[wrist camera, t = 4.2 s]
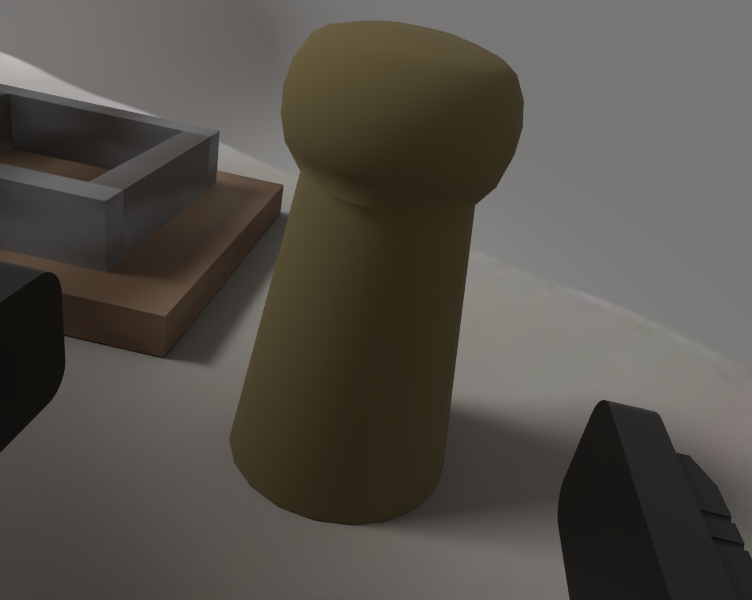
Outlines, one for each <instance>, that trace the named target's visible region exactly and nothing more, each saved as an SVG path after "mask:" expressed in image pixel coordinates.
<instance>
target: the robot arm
mask: <svg viewBox="0 0 752 600" xmlns="http://www.w3.org/2000/svg"><path fill="white" fill-rule="evenodd" d="M64 370H65V346H64V326H63V307H62V289H61V284H60V281H59V279H58V277H57V276H56V275H55V274H54V273H51V272H48V271H43V270H39V269H35V268H30V267H26V266H21V265H17V264H13V263H8V262H4V261H0V452H1V451H2V450H3V449H4V448H5V447H6V446H7V445H8V444H9V443H10V442H11V441H12V440H13V439H14V438H15V437H16V436H17V435H18V434H19V433H20V432H21V431H22V430H23V429H24V428H25V427H26V426H27V425H28V424H29V423H30V422H31V421H32V420H33V419H34V418H35V417H36V416H37V415H38V414H39V413H40V412H41V411H42V410H43V409H44V408H45V407H46V405H47V404H48V403H49V402H50V401H51V400H52V399H53V397H54V396H55V394H56V392H57V391H58V388H59V386H60V384H61V381H62V378H63V374H64ZM731 518H732V517H731V514H730V512H729V510H728V508H727V506H726V504H725V502H724V500H723V498H722V495H721V493H720V491H719V489H718V487H717V485H716V484H715V483H714V482H713V481H712V480H711V479H710V478H709V477H708V476H707V474H706V473H705V472H704V471H703V470H702V469H701V468H700V467H699V466H698V465H697V464H696V463H695V461H694V460H693V459H692V458H691V457H690V456H688V455H683V454H679V453H676V452H675V450H674V447H673V445H672V443H671V440H670V438H669V436H668V433H667V431H666V428H665V426H664V424H663V421H662V419H661V417H660V415H659V414H658V413H657V412H654V411H650V410H646V409H641V408H637V407H633V406H628V405H624V404H619V403H615V402H611V401H606V400H602V401H600V402H599V403H598V404H597V405H596V406H595V408H594V410H593V412H592V414H591V416H590V419H589V421H588V423H587V426H586V428H585V431H584V433H583V435H582V438H581V440H580V442H579V445H578V447H577V449H576V452H575V454H574V457H573V459H572V461H571V464H570V466H569V468H568V471H567V473H566V475H565V478H564V481H563V484H562V487H561V491H560V496H559V502H558V527H559V533H560V540H561V546H562V553H563V559H564V566H565V572H566V579H567V585H568V592H569V598H570V600H752V559H751V557H750V554H749V552H748V551H745V550H744V542H743V540H742V538H741V535H740V533H739V531H738V529H737V527H736V525H735V524H734V523H731Z"/></svg>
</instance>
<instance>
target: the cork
mask: <svg viewBox="0 0 752 600" xmlns="http://www.w3.org/2000/svg"><path fill="white" fill-rule="evenodd" d="M523 105H524V99H523V96H522V92H521V88H520V85H519V81H518V77H517V74H516V73H515V72H514V71H513V70H512V69H511V68H510V66H509V65H508V64H507V63H506V62H505V61H504V60H503V59H501V58H500V57H498V56H497V55H495V54H493V53H491V52H489V51H487V50H485V49H484V48H482V47H480V46H478V45H476V44H474V43H472V42H469V41H467V40H464V39H462V38H460V37H457V36H455V35H452V34H450V33H446V32H443V31H439V30H435V29H430V28H426V27H421V26H416V25H411V24H405V23H399V22H392V21H355V22H345V23H335V24H328V25H326V26H324V27H321V28H319V29H317V30H315V31H313V32H312V33H311V34H310V35H309V37H308V38H307V40H306V41H305V42H304V43H303V45H302V46H301V47H300V49H299V50H298V52H297V53H296V54H295V56H294V57H293V59H292V62H291V65H290V68H289V70H288V73H287V76H286V79H285V82H284V85H283V97H282V107H281V116H282V123H283V131H284V138H285V142H286V144H287V146H288V148H289V150H290V152H291V154H292V156H293V158H294V160H295V162H296V163H297V165H298V167H299V169H300V175H299V179H298V183H297V186H296V190H295V194H294V198H293V201H292V205H291V209H290V213H289V216H288V220H287V224H286V228H285V231H284V235H283V239H282V243H281V247H280V250H279V254H278V258H277V262H276V265H275V269H274V273H273V277H272V280H271V284H270V288H269V292H268V295H267V299H266V303H265V307H264V311H263V314H262V318H261V322H260V326H259V329H258V333H257V337H256V341H255V344H254V348H253V352H252V356H251V359H250V363H249V367H248V371H247V374H246V378H245V382H244V386H243V390H242V393H241V397H240V401H239V405H238V408H237V412H236V416H235V420H234V423H233V427H232V431H231V435H230V438H229V439H230V444H231V448H232V453H233V458H234V463H235V464H236V466H237V467H238V468H239V470H240V471H241V473H242V474H243V476H244V477H245V478H246V480H247V481H248V483H249V484H250V485H251V487H253V488H254V489H255V490H257V491H258V492H260V493H261V494H262V495H264V496H265V497H266V498H268V499H269V500H271V501H272V502H273V503H275V504H276V505H277V506H279V507H281V508H284V509H287V510H289V511H292V512H295V513H297V514H300V515H303V516H305V517H308V518H311V519H313V520H319V521H327V522H336V523H344V524H352V525H354V524H361V523H368V522H376V521H383V520H389V519H392V518H394V517H396V516H398V515H400V514H403V513H405V512H407V511H409V510H411V509H414V508H416V507H418V506H419V505H420V504H421V503H422V502H423V501H424V499H425V498H426V497H427V496H428V495H429V494H430V493H431V492H432V491H433V490H434V489H435V488H436V486H437V482H438V479H439V476H440V473H441V470H442V467H443V461H444V453H445V445H446V437H447V429H448V420H449V412H450V404H451V396H452V388H453V380H454V372H455V364H456V356H457V348H458V340H459V331H460V323H461V315H462V307H463V299H464V291H465V283H466V275H467V267H468V259H469V250H470V242H471V234H472V226H473V218H474V210H475V205H476V204H477V203H478V202H479V201H481V200H482V199H483V198H484V197H485V196H486V195H487V194H489V193H490V192H491V191H492V190H493V189H495V188H496V187H497V185H498V183H499V181H500V180H501V178H502V176H503V174H504V172H505V171H506V169H507V167H508V165H509V164H510V162H511V160H512V158H513V156H514V154H515V151H516V148H517V144H518V141H519V138H520V134H521V131H522V127H523Z"/></svg>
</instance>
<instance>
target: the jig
mask: <svg viewBox="0 0 752 600" xmlns="http://www.w3.org/2000/svg"><path fill="white" fill-rule="evenodd" d="M218 146H219V131H218V130H213V129H208V128H204V127H199V126H194V125H190V124H185V123H180V122H175V121H171V120H166V119H162V118H157V117H152V116H148V115H143V114H138V113H134V112H129V111H124V110H120V109H115V108H110V107H106V106H101V105H96V104H92V103H87V102H82V101H78V100H73V99H68V98H64V97H59V96H54V95H50V94H45V93H40V92H36V91H31V90H27V89H22V88H17V87H13V86H8V85H3V84H0V261H4V262H8V263H13V264H17V265H21V266H26V267H30V268H35V269H39V270H43V271H48V272H51V273H54V274H55V275H56V276H57V277H58V279H59V281H60V284H61V289H62V307H63V326H64V335H68V336H72V337H76V338H81V339H85V340H90V341H94V342H98V343H103V344H107V345H112V346H116V347H120V348H125V349H129V350H134V351H138V352H142V353H147V354H151V355H155V356H160V357H165V355H166V354H167V353H168V352H169V351H170V349H171V348H172V347H173V346H174V344H175V343H176V342H177V341H178V339H179V338H180V337H181V336H182V334H183V333H184V332H185V331H186V329H187V328H188V327H189V326H190V324H191V323H192V322H193V321H194V320H195V318H196V317H197V316H198V315H199V313H200V312H201V311H202V310H203V308H204V307H205V306H206V305H207V303H208V302H209V301H210V300H211V298H212V297H213V296H214V295H215V294H216V292H217V291H218V290H219V289H220V287H221V286H222V285H223V284H224V282H225V281H226V280H227V279H228V277H229V276H230V275H231V274H232V272H233V271H234V270H235V269H236V267H237V266H238V265H239V264H240V263H241V261H242V260H243V259H244V258H245V256H246V255H247V254H248V253H249V251H250V250H251V249H252V248H253V246H254V245H255V244H256V243H257V241H258V240H259V239H260V238H261V236H262V235H263V234H264V233H265V232H266V230H267V229H268V228H269V227H270V225H271V224H272V223H273V222H274V220H275V219H276V218H277V217H278V215H279V214H280V211H281V202H282V193H283V185H281V184H276V183H272V182H267V181H263V180H258V179H253V178H249V177H244V176H239V175H235V174H230V173H226V172H221V171H217V161H218Z"/></svg>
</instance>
